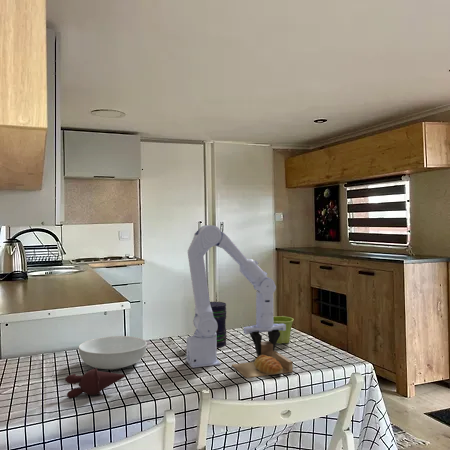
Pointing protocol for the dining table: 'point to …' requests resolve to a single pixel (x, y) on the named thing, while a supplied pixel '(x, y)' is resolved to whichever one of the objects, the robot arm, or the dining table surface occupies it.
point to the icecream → (91, 382)
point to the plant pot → (286, 334)
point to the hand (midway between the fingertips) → (265, 353)
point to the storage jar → (220, 321)
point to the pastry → (268, 365)
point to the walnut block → (266, 348)
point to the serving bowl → (112, 351)
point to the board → (251, 371)
